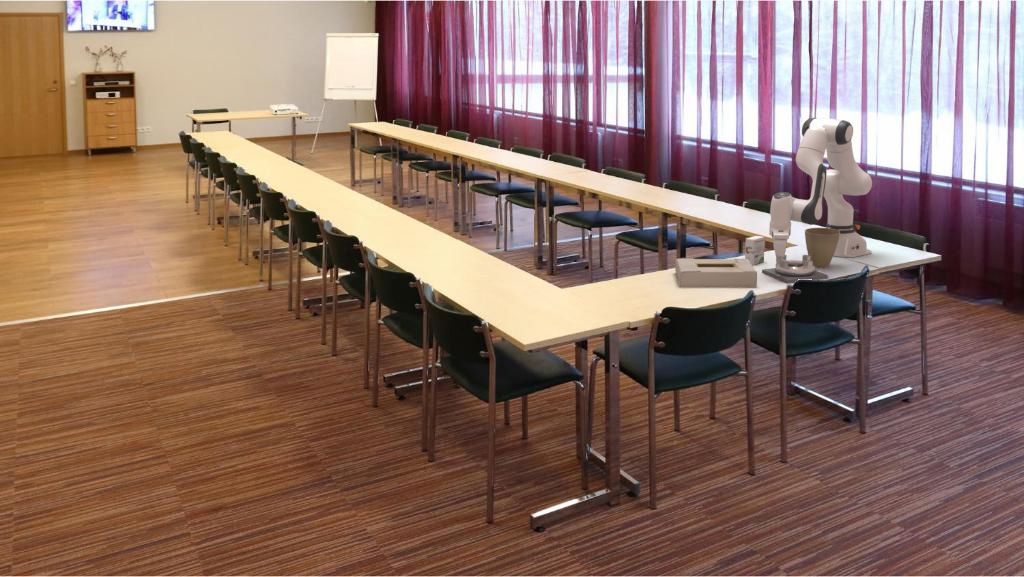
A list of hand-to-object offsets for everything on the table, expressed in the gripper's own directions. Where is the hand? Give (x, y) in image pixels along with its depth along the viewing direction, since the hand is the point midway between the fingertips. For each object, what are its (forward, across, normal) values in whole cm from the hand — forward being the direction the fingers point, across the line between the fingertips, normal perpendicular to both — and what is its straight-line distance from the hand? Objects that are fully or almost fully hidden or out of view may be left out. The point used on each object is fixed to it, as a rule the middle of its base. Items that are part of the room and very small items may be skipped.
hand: (778, 262), depth 410 cm
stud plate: (+6, 0, +7) cm, 9 cm away
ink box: (+6, -22, -9) cm, 24 cm away
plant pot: (+6, -19, +19) cm, 27 cm away
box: (+6, +11, -26) cm, 29 cm away
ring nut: (+4, 0, +7) cm, 8 cm away
